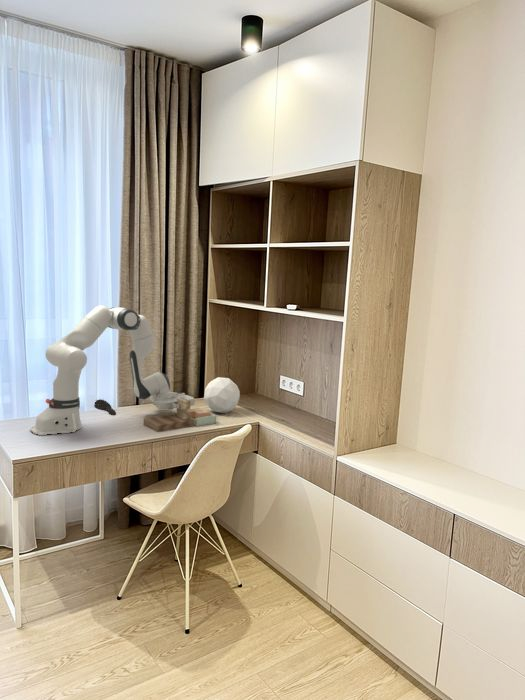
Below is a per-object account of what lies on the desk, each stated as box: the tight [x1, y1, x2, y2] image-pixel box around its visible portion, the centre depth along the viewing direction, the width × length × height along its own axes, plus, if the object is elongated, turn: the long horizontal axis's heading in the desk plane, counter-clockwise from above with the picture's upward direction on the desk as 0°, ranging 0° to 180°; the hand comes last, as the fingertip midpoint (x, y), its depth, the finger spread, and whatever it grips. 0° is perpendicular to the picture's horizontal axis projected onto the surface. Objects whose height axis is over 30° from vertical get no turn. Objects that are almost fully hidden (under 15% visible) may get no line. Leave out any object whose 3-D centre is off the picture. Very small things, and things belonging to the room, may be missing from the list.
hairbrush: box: [93, 398, 117, 416], centre depth 286 cm, size 8×4×25 cm
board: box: [142, 413, 195, 432], centre depth 263 cm, size 20×14×3 cm
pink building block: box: [194, 409, 212, 419], centre depth 271 cm, size 5×4×7 cm
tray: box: [190, 407, 217, 427], centre depth 273 cm, size 12×17×4 cm
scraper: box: [176, 398, 191, 419], centre depth 267 cm, size 3×8×9 cm, turn 39°
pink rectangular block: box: [190, 408, 201, 419], centre depth 273 cm, size 5×4×7 cm
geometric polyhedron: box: [203, 376, 241, 414], centre depth 291 cm, size 19×20×20 cm
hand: (183, 406), depth 267 cm, fingers closed on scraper, 3 cm apart
